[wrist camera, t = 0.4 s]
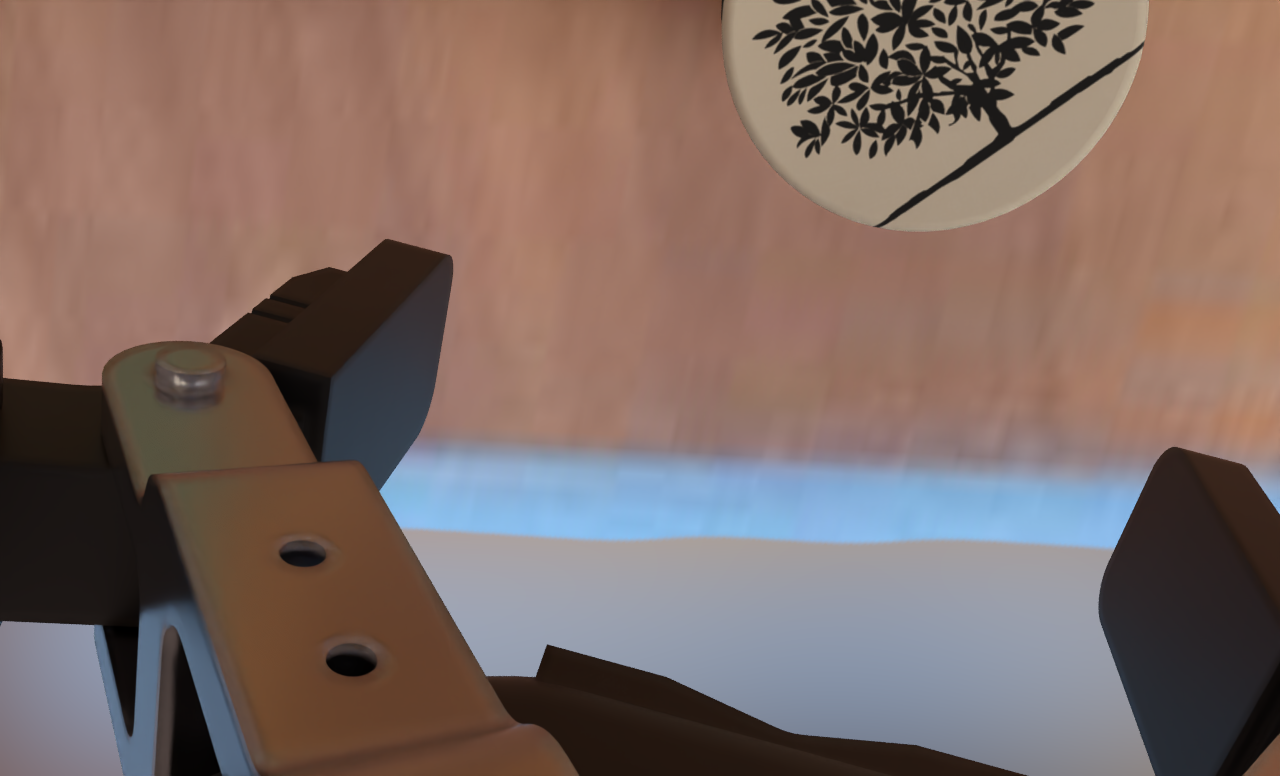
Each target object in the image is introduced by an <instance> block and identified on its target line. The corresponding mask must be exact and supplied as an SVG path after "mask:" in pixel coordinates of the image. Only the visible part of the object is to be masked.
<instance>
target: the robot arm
mask: <svg viewBox="0 0 1280 776" xmlns="http://www.w3.org/2000/svg"><path fill="white" fill-rule="evenodd" d="M452 277H453V260H452V257H451V256H450V255H447V254H443V253H439V252H436V251H432V250H428V249H424V248H420V247H417V246H413V245H409V244H405V243H401V242H397V241H394V240H390V239H385V240H384V241H382V242H381V243H380V244H379V245H378V246H377V247H375V248H374V249H373V250H372V251H371V252H370V253H369V254H367V255H366V256H365V257H364V258H363V259H362V260H361V261H359V262H358V263H357V264H356V265H355V266H354V267H352V268H351V269H350V270H349V271H348V272H346V271H342V270H338V269H335V268H331V267H328V268H325V269H321V270H317V271H314V272H310V273H307V274H303V275H299V276H296V277H292V278H291V279H290V280H289V281H287V282H286V283H285V284H283V285H282V286H281V287H280V288H278V289H277V290H276V291H275V292H273V293H272V294H271V295H270V299H267V298H266V299H265V300H263V301H262V302H261V303H260V304H258V305H257V306H256V307H254V308H253V310H252V313H247V314H246V315H244V316H243V317H242V318H241V319H239V320H238V321H237V322H236V323H234V324H233V325H232V326H231V327H229V328H228V329H227V330H225V331H224V332H223V333H222V334H220V335H219V336H218V337H217V338H215V339H214V340H213V341H212V342H210V343H203V342H192V341H167V342H156V343H149V344H144V345H140V346H136V347H133V348H130V349H127V350H124V351H123V352H121V353H119V354H117V355H115V356H114V357H113V358H111V359H110V360H109V361H108V362H107V364H106V365H105V366H104V369H103V372H102V386H86V385H71V384H60V383H50V382H39V381H29V380H18V379H8V378H3V347H2V342H1V340H0V625H1V623H2V621H15V622H37V623H60V624H82V625H94V638H95V646H96V650H97V655H98V659H99V664H100V669H101V673H102V678H103V683H104V687H105V692H106V696H107V701H108V706H109V710H110V715H111V719H112V724H113V729H114V733H115V738H116V742H117V747H118V752H119V757H120V761H121V766H122V770H123V775H124V776H1027V775H1023V774H1019V773H1015V772H1012V771H1008V770H1004V769H1001V768H997V767H993V766H990V765H986V764H983V763H979V762H975V761H972V760H968V759H964V758H961V757H957V756H954V755H950V754H946V753H943V752H939V751H935V750H931V749H928V748H924V747H921V746H917V745H907V744H897V743H886V742H875V741H864V740H853V739H841V738H830V737H819V736H808V735H799V734H794V733H790V732H786V731H783V730H781V729H778V728H776V727H774V726H772V725H769V724H767V723H765V722H763V721H761V720H758V719H756V718H754V717H751V716H750V715H748V714H745V713H743V712H741V711H739V710H736V709H735V708H733V707H730V706H728V705H726V704H724V703H722V702H719V701H717V700H715V699H713V698H711V697H708V696H706V695H704V694H702V693H700V692H698V691H695V690H693V689H691V688H689V687H687V686H685V685H682V684H680V683H678V682H676V681H674V680H672V679H670V678H667V677H664V676H661V675H657V674H653V673H650V672H645V671H642V670H639V669H635V668H631V667H627V666H624V665H620V664H617V663H613V662H610V661H605V660H602V659H598V658H595V657H591V656H587V655H583V654H580V653H577V652H573V651H569V650H566V649H562V648H558V647H554V646H551V645H547V646H546V649H545V652H544V655H543V658H542V661H541V663H540V666H539V669H538V672H537V675H536V677H521V676H520V677H519V676H486V675H485V674H484V672H483V670H482V669H481V667H480V665H479V663H478V662H477V660H476V658H475V656H474V655H473V653H472V651H471V650H470V648H469V646H468V644H467V643H466V641H465V639H464V637H463V636H462V634H461V632H460V630H459V629H458V627H457V626H456V624H455V622H454V620H453V619H452V617H451V615H450V613H449V611H448V610H447V608H446V606H445V605H444V603H443V601H442V599H441V598H440V596H439V594H438V593H437V591H436V589H435V587H434V586H433V584H432V582H431V580H430V579H429V577H428V575H427V574H426V572H425V570H424V568H423V567H422V565H421V563H420V561H419V560H418V558H417V556H416V555H415V553H414V551H413V549H412V548H411V546H410V544H409V542H408V541H407V539H406V537H405V536H404V534H403V532H402V530H401V529H400V527H399V525H398V523H397V522H396V520H395V518H394V517H393V515H392V513H391V511H390V510H389V508H388V506H387V504H386V503H385V501H384V499H383V498H382V496H381V494H380V492H379V491H380V489H381V488H382V486H383V485H384V484H385V482H386V481H387V479H388V478H389V476H390V475H391V474H392V472H393V471H394V469H395V468H396V466H397V465H398V464H399V462H400V461H401V459H402V458H403V456H404V455H405V454H406V452H407V451H408V449H409V448H410V446H411V445H412V444H413V442H414V441H415V439H416V438H417V436H418V435H419V433H420V431H421V429H422V426H423V424H424V422H425V419H426V416H427V413H428V411H429V407H430V404H431V400H432V396H433V392H434V388H435V382H436V376H437V370H438V364H439V358H440V352H441V346H442V340H443V334H444V328H445V321H446V315H447V309H448V303H449V297H450V291H451V285H452ZM1099 618H1100V622H1101V625H1102V628H1103V631H1104V634H1105V637H1106V639H1107V642H1108V645H1109V648H1110V650H1111V653H1112V656H1113V659H1114V661H1115V664H1116V667H1117V670H1118V672H1119V675H1120V678H1121V681H1122V684H1123V686H1124V689H1125V692H1126V695H1127V698H1128V700H1129V703H1130V706H1131V709H1132V712H1133V714H1134V717H1135V720H1136V722H1137V726H1138V728H1139V731H1140V734H1141V737H1142V739H1143V742H1144V745H1145V748H1146V750H1147V753H1148V756H1149V759H1150V762H1151V764H1152V767H1153V770H1154V773H1155V776H1280V514H1279V513H1278V511H1277V510H1276V509H1275V507H1274V506H1273V504H1272V503H1271V501H1270V500H1269V498H1268V497H1267V495H1266V494H1265V493H1264V491H1263V490H1262V488H1261V487H1260V485H1259V484H1258V482H1257V481H1256V480H1255V478H1254V477H1253V475H1252V474H1251V472H1250V471H1249V469H1248V468H1247V467H1246V466H1244V465H1242V464H1239V463H1235V462H1232V461H1228V460H1224V459H1220V458H1216V457H1213V456H1209V455H1205V454H1201V453H1197V452H1193V451H1190V450H1186V449H1182V448H1178V447H1172V448H1169V449H1168V450H1166V451H1165V452H1164V453H1163V454H1162V455H1161V456H1160V457H1159V459H1158V460H1157V462H1156V463H1155V465H1154V467H1153V469H1152V471H1151V473H1150V475H1149V477H1148V479H1147V481H1146V484H1145V486H1144V488H1143V490H1142V492H1141V494H1140V496H1139V498H1138V501H1137V503H1136V505H1135V507H1134V509H1133V511H1132V513H1131V516H1130V518H1129V520H1128V522H1127V524H1126V526H1125V528H1124V530H1123V533H1122V535H1121V537H1120V539H1119V541H1118V543H1117V545H1116V548H1115V550H1114V552H1113V554H1112V556H1111V558H1110V560H1109V563H1108V565H1107V567H1106V570H1105V573H1104V576H1103V579H1102V583H1101V588H1100V594H1099Z"/></svg>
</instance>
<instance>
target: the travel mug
mask: <svg viewBox="0 0 1280 776" xmlns="http://www.w3.org/2000/svg"><path fill="white" fill-rule="evenodd" d="M1148 11H1149V0H722V10H721V20H722V50H723V59H724V67H725V72H726V77H727V82H728V86H729V89H730V92H731V96H732V99H733V102H734V105H735V107H736V110H737V112H738V114H739V117H740V119H741V121H742V123H743V125H744V127H745V129H746V131H747V133H748V134H749V136H750V138H751V140H752V141H753V143H754V144H755V146H756V147H757V149H758V150H759V152H760V153H761V155H762V156H763V157H764V158H765V159H766V161H767V162H768V163H769V164H770V165H771V167H772V168H773V169H774V170H775V171H776V172H777V173H778V174H779V175H780V176H781V177H782V178H783V179H784V180H785V181H786V182H787V183H788V184H790V185H791V186H792V187H793V188H795V189H796V190H797V191H798V192H800V193H801V194H802V195H804V196H805V197H807V198H808V199H810V200H811V201H813V202H814V203H816V204H817V205H819V206H821V207H823V208H825V209H827V210H829V211H831V212H833V213H835V214H837V215H839V216H842V217H844V218H847V219H850V220H852V221H855V222H859V223H862V224H866V225H869V226H873V227H878V228H884V229H889V230H899V231H938V230H949V229H954V228H959V227H965V226H969V225H973V224H976V223H980V222H983V221H987V220H990V219H992V218H995V217H997V216H1000V215H1003V214H1005V213H1008V212H1010V211H1012V210H1014V209H1016V208H1018V207H1020V206H1022V205H1024V204H1026V203H1027V202H1029V201H1031V200H1032V199H1034V198H1036V197H1037V196H1039V195H1041V194H1042V193H1044V192H1045V191H1046V190H1048V189H1049V188H1051V187H1052V186H1053V185H1055V184H1056V183H1057V182H1059V181H1060V180H1061V179H1062V178H1063V177H1065V176H1066V175H1067V174H1068V173H1069V172H1070V171H1071V170H1073V169H1074V168H1075V167H1076V166H1077V165H1078V164H1079V163H1080V162H1081V161H1082V160H1083V159H1084V158H1085V156H1086V155H1087V154H1088V153H1089V152H1090V151H1091V150H1092V149H1093V147H1094V146H1095V145H1096V144H1097V142H1098V141H1099V140H1100V139H1101V137H1102V136H1103V135H1104V133H1105V132H1106V130H1107V129H1108V127H1109V126H1110V124H1111V123H1112V121H1113V120H1114V118H1115V117H1116V115H1117V113H1118V111H1119V110H1120V108H1121V106H1122V104H1123V102H1124V100H1125V98H1126V96H1127V94H1128V92H1129V89H1130V87H1131V85H1132V82H1133V80H1134V78H1135V74H1136V71H1137V68H1138V65H1139V62H1140V59H1141V55H1142V51H1143V46H1144V42H1145V37H1146V30H1147V22H1148Z"/></svg>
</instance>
